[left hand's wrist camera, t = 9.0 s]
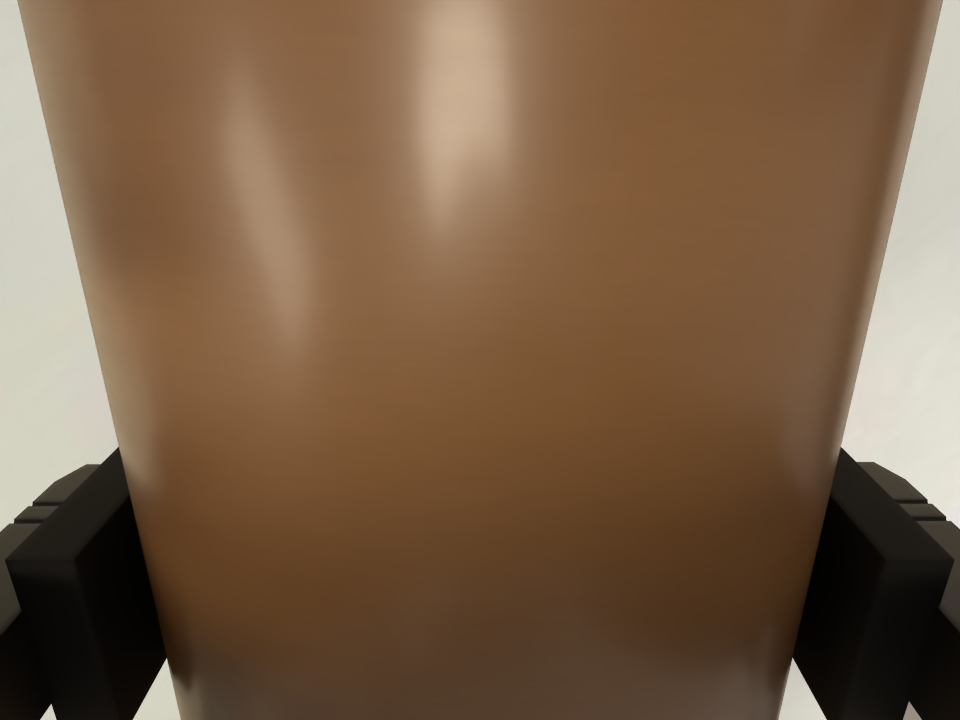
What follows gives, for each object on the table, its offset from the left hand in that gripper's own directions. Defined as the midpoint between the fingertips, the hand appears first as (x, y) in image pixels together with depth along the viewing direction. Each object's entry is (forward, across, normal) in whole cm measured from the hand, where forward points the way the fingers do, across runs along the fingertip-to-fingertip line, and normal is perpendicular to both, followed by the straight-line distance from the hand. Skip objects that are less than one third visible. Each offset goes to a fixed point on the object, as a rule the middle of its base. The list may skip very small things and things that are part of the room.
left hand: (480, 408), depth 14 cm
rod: (0, 0, -9) cm, 9 cm away
